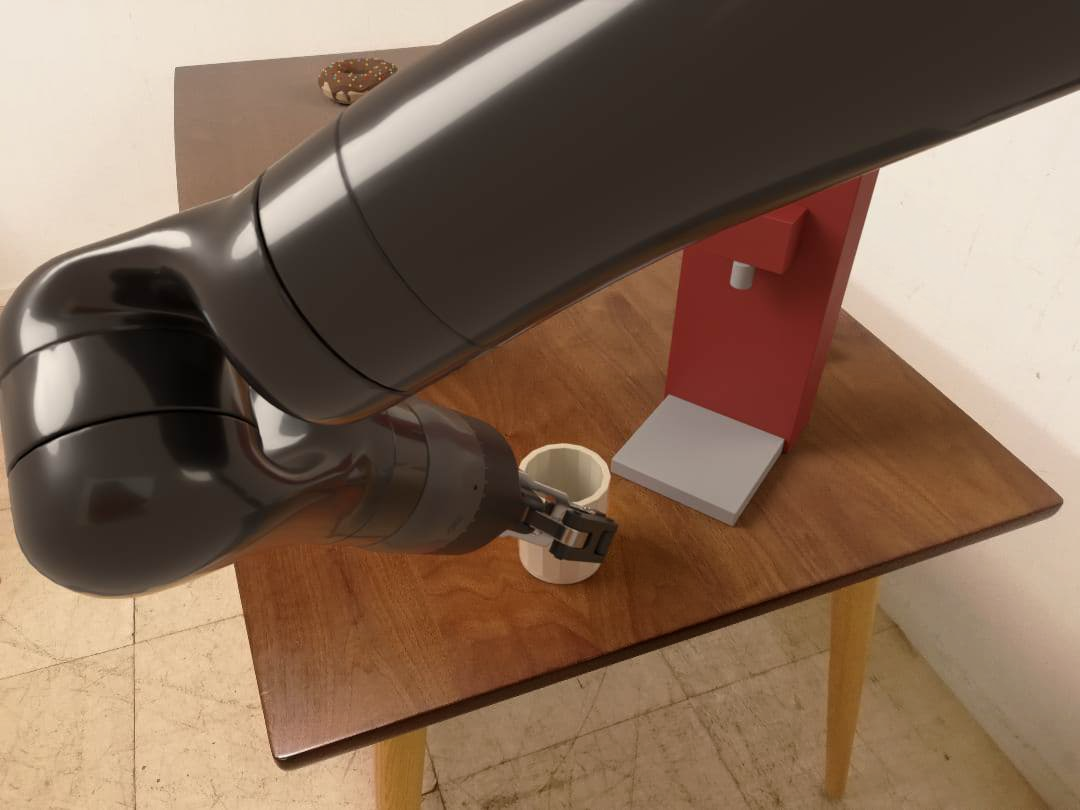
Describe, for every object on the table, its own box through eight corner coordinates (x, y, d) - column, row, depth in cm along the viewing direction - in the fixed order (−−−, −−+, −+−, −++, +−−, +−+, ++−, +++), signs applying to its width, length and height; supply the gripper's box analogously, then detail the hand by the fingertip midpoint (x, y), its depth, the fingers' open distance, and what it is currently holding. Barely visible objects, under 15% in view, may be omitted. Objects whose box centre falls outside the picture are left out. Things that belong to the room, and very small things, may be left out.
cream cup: (610, 527, 64) (617, 451, 59) (594, 592, 59) (600, 515, 54) (530, 513, 65) (530, 437, 60) (508, 575, 60) (507, 498, 55)
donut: (347, 115, 133) (343, 83, 130) (307, 93, 141) (302, 63, 138) (421, 96, 140) (419, 66, 137) (379, 76, 148) (376, 47, 145)
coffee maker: (739, 530, 63) (817, 204, 46) (603, 469, 69) (628, 155, 52) (811, 419, 74) (895, 120, 57) (688, 373, 79) (732, 86, 62)
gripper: (567, 462, 37) (658, 492, 52) (339, 359, 43) (479, 411, 58) (501, 614, 37) (611, 600, 52) (283, 489, 43) (436, 509, 58)
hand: (541, 501), depth 55 cm, fingers open, 8 cm apart
